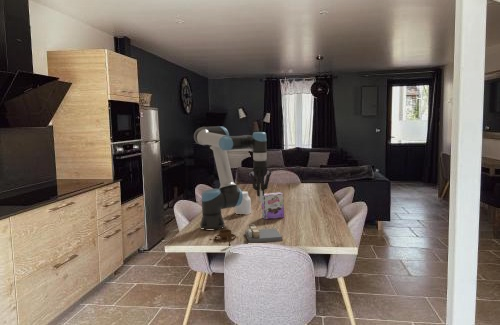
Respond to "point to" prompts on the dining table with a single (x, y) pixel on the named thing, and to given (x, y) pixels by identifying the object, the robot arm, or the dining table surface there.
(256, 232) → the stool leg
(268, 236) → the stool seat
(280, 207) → the candy box
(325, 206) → the dining table surface
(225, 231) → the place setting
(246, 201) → the jar
